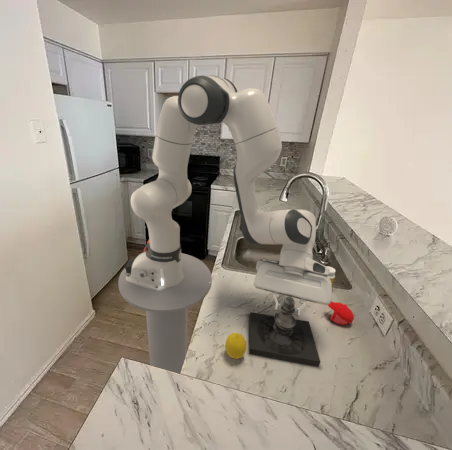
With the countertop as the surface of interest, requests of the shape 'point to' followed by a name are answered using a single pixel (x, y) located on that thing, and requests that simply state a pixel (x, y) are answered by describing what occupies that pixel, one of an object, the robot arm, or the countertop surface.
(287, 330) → the dark grey statuette
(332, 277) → the supplement bottle
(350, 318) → the cap
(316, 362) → the pad
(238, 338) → the lemon
